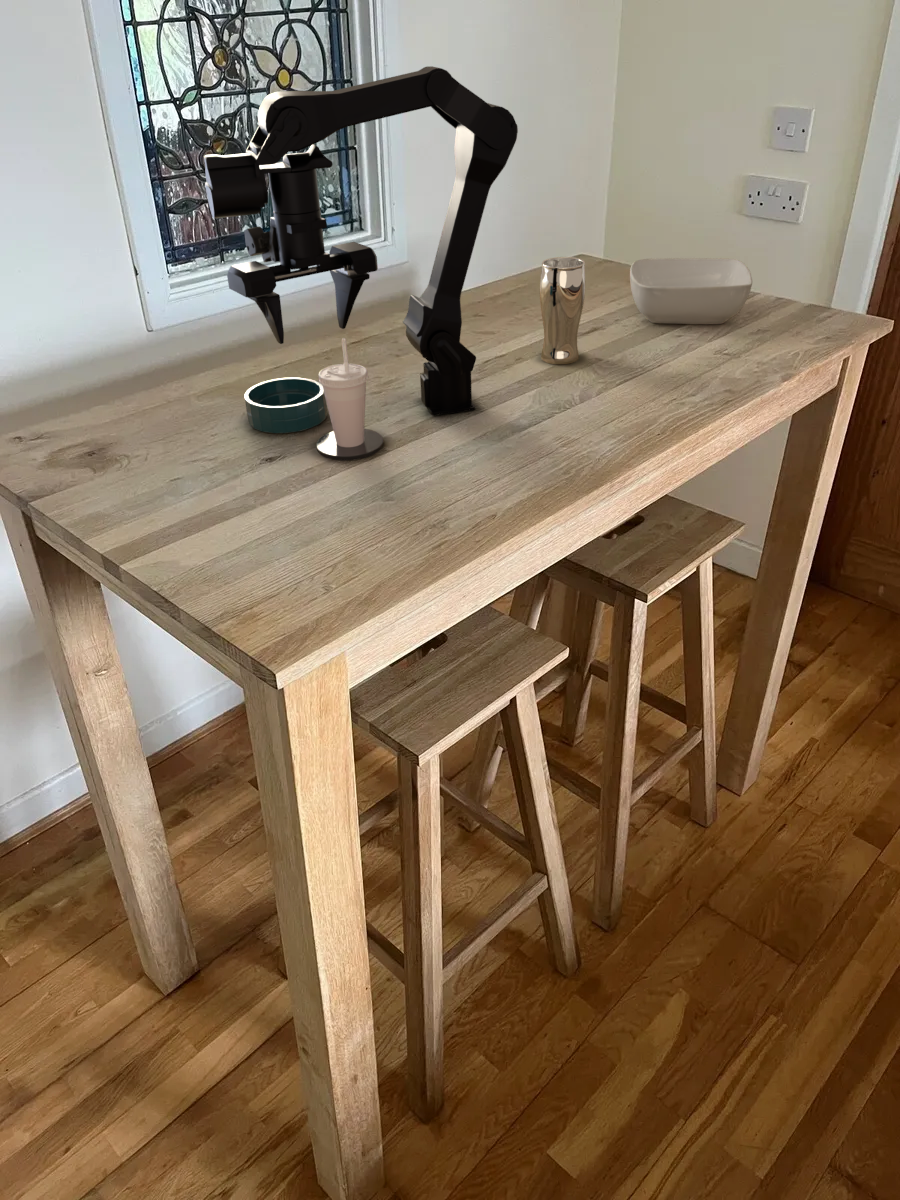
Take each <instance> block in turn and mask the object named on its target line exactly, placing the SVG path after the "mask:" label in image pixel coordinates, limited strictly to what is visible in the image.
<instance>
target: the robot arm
mask: <svg viewBox="0 0 900 1200" xmlns="http://www.w3.org/2000/svg"><path fill="white" fill-rule="evenodd" d="M426 108H431V109H432V110H433V111H434V112H436V113H437V114H438V115H439V116H440V117H441V118H442V119H443V121H445V122H446V123H448V124H449V125H450V126H451V127H453V128H454V129H455V138H454V148H453V149H454V150H453V152H454V164H455V178H454V183H453V187H452V190H451V194H450V199H449V202H448V206H447V210H446V214H445V218H444V221H443V225H442V230H441V234H440V238H439V242H438V245H437V250H436V253H435V257H434V261H433V265H432V269H431V273H430V277H429V282H428V284H427V286H426V288H425V289H424V291H423V292H422V294H421V295H420V296H416V295H414V294H410V296H409V299H408V307H407V312H406V315H405V317H404V319H403V320H402V324H403V325H404V326H405V336H406V338H407V340H408V342H409V344H410V345H412V347H413V348H414V349H415V350H416V351H417V352H418V353H419V354H420V355H421V356H422V358H423V359H425V360H427V361H426V362H423V365H422V367H423V373H421V374H420V375H419V376H420V377H419V381H420V398H421V402H422V404H423V405H424V407H425V408H427V410H428V412H429V413H430V415H431V416H440V415H447V414H454V413H461V412H462V413H463V412H471V411H475V410H476V405H475V404H474V402H473V399H472V398H473V397H472V372H473V370H474V367H475V365H476V361H477V356H476V355H475V354H474V353H473V352H472V351H471V350H469V348H467V347H466V346H465V345H464V344H462V342H461V334H462V324H463V319H462V305H461V304H462V303H461V296H462V291H463V288H464V284H465V281H466V277H467V273H468V270H469V266H470V263H471V259H472V255H473V251H474V247H475V245H476V240H477V236H478V233H479V229H480V225H481V222H482V218H483V215H484V212H485V208H486V203H487V200H488V197H489V193H490V192H489V191H490V190H491V188H492V185H493V183H494V182H495V181H496V180H497V179H498V177H499V175H500V174H501V173H502V171H503V170H504V168H505V167H506V165H507V162H508V160H509V158H510V156H511V154H512V152H513V149H514V147H515V145H516V143H517V140H518V133H519V130H518V129H519V128H518V127H519V126H518V124H517V122H516V119H515V116H514V115H513V114H512V113H511V112H510V111H509V109H506V108H505V107H503V106H500V105H496V104H493V103H489V102H487V101H485V100H484V99H483V98H482V97H480V96H479V95H477V94H475V93H474V92H473V91H472V90H470V89H468V88H467V87H466V86H465V85H463V84H462V83H460V82H459V81H458V80H457V79H455V78H454V77H453V76H452V74H451V73H450V72H449V70H447V69H444V68H441V67H437V66H432V65H431V66H428V65H427V66H424V67H423V68H420V69H419V70H417V71H412V72H407V73H403V74H398V75H394V76H391V77H387V78H386V77H385V78H382V79H377V80H373V81H370V82H364V83H361V84H356V85H351V86H348V87H344V88H339V89H335V90H281V91H280V90H279V91H274V92H272V93H269V94H268V95H266V96H265V97H264V98H263V100H262V101H261V104H260V105H259V107H258V112H257V121H258V126H257V128H256V130H255V132H254V133H253V136H252V138H251V139H250V142H249V144H248V146H247V148H246V150H245V153H244V152H243V153H235V154H234V153H233V154H224V155H223V154H222V155H221V154H216V153H215V154H205V155H203V161H204V169H205V171H204V172H205V180H206V181H205V183H204V186H205V191H206V196H207V197H206V198H207V201H208V206H209V209H210V213H211V217H212V219H223V218H234V217H242V216H252V215H260V214H261V212H262V208H263V209H264V208H266V205H268V204H269V193H268V185H267V180H266V175H265V174H268V182H269V189H270V190H269V191H270V198H271V205H272V210H273V216H272V217H269V220H270V221H269V227H270V230H269V231H264V230H263V228H262V227H261V226H253V227H249V228H246V229H245V230H243V231H244V241H245V246H246V250H247V253H248V255H249V256H250V257H254V256H259V255H261V257H262V261H263V262H264V263H269V262H274V263H279V264H276V265H272V266H269V265H268V266H267V265H266V264H264V263H262V262H259V261H257V260H252V261H248V262H247V261H246V262H242V263H238V264H237V263H236V264H232V265H230V267H229V269H228V271H227V274H226V278H227V284H228V289H229V290H231V291H234V292H235V293H237V294H239V295H241V296H243V297H245V298H248V299H249V300H252V301H253V302H255V304H256V305H257V307H258V308H259V310H260V311H261V313H262V314H263V315H262V316H263V317H264V319H265V320H266V322H267V324H268V326H269V328H270V331H271V332H272V334H273V336H274V338H275V340H276V342H277V343H278V344H280V345H283V344H284V343H285V342H284V340H285V339H284V338H285V331H284V330H285V329H284V322H283V314H282V304H281V295H280V294H279V293H277V292H275V291H274V290H275V289H276V287H277V283H278V282H279V283H280V282H284V281H288V280H293V279H298V278H302V277H303V278H304V277H307V276H312V275H317V274H321V273H326V272H329V273H330V276H331V278H332V281H333V283H334V291H335V303H336V304H335V306H336V307H335V308H336V318H337V323H338V327H339V328H340V329H342V330H344V329H346V328H347V324H348V322H349V319H350V317H351V313H352V311H353V308H354V305H355V303H356V300H357V297H358V295H359V293H360V291H361V289H362V287H363V284H364V283H365V281H367V280H370V277H371V276H370V273H373V272H377V271H378V270H379V269H378V268H379V267H378V266H379V265H378V256H377V254H376V252H375V251H374V249H373V248H372V247H370V246H368V245H366V244H365V245H364V244H363V243H359V242H356V241H350V242H345V243H339V244H335V245H331V247H330V249H329V251H328V252H326V250H325V242H324V231H323V230H324V229H327V228H328V223H327V218H324V217H322V213H321V203H320V194H319V186H318V185H319V184H318V176H317V170H319V169H329V168H332V167H333V165H334V164H333V161H332V160H331V159H329V158H328V157H327V156H325V155H324V153H323V152H322V151H321V149H320V147H319V146H318V145H316V144H317V143H319V142H322V141H324V140H326V139H327V138H328V137H330V136H331V135H333V134H335V133H336V132H338V131H340V130H342V129H344V128H348V127H351V126H356V125H359V124H360V125H361V124H364V123H369V122H372V121H377V120H380V119H385V118H389V117H393V116H397V115H401V114H406V113H411V112H414V111H418V110H422V109H426ZM306 148H309V149H308V150H307V151H306V152H299V151H302V150H304V149H306ZM289 152H290V153H289ZM292 152H293V153H292ZM295 152H296V153H295ZM281 159H282V161H281V162H279V161H280V160H281Z"/></svg>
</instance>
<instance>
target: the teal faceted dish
mask: <svg viewBox="0 0 900 1200" xmlns="http://www.w3.org/2000/svg"><path fill="white" fill-rule="evenodd" d="M243 397H244V403H245V408H246V415H247V421H248V424H249V426H250V427H252V428H253V429H254V430H256V431H259V432H265V433H271V434H289V433H295V432H296V433H297V432H302V431H305V430H308V429H312V428H313V427H316V426H318V425H320V424H321V423H323V422H324V421H325V420H326V418H327V416H328V414H329V412H328V407H327V402H326V398H325V395H324V390H323V386H322V385H321V384H320V383H319V380H314V379H311V378H307V377H306V378H305V377H281V378H273V379H269V380H266V381H265V380H264V381H261V382H259V383H257V384H253V385H252V386H251V387H250V388H248V389H246V391H245V392H244V395H243Z"/></svg>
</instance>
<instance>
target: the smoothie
mask: <svg viewBox="0 0 900 1200" xmlns="http://www.w3.org/2000/svg"><path fill="white" fill-rule="evenodd" d="M341 348H342V356H343V363H337V364H332V365H328V366H326V367H324V368H322V369H321V370H319V372H318V382H319V383H320V384H321V385H322V386H323V390H324V395H325V398H326V404H327V412H328V414H329V418H330V419H329V420H330V422H331V426H332V431H334V435H335V439H336V443H337V445H339V446H341V447H355V446H358V445H361V444H362V443H363V442H364V429H365V423H366V422H365V419H366V393H367V381H368V380H369V374H368V373H369V372H368V368H367V367H366V366H363V365H361V364H357V363H349V355H348V344H347V338H346V337H342V338H341Z"/></svg>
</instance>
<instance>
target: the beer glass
mask: <svg viewBox="0 0 900 1200" xmlns="http://www.w3.org/2000/svg"><path fill="white" fill-rule="evenodd" d="M539 281H540V282H539V304H540V312H541V318H542V325H543V345H542V348H541V353H540V354H541V355H540V358H541V361H543V362H545V363H547V364H551V365H569V364H573V363H575V362H577V361H578V360H579V359H580V354H579V346H578V333H579V327H580V323H581V319H582V318H581V317H582V315H583V314H582V313H583V308H584V304H585V296H586V262H585V260H584V259H582V258H578V257H573V256H555V257H549V258H546V259H544V260H542V262H541V271H540V280H539Z"/></svg>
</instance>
